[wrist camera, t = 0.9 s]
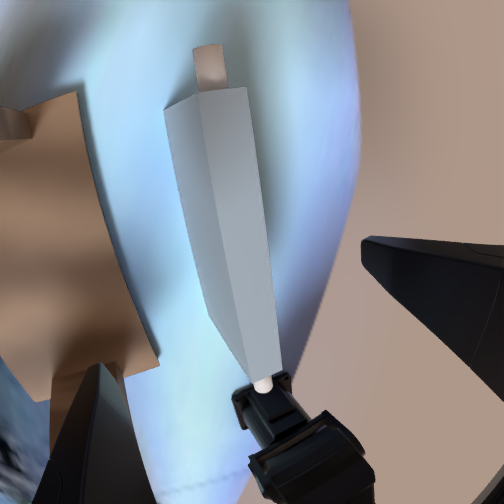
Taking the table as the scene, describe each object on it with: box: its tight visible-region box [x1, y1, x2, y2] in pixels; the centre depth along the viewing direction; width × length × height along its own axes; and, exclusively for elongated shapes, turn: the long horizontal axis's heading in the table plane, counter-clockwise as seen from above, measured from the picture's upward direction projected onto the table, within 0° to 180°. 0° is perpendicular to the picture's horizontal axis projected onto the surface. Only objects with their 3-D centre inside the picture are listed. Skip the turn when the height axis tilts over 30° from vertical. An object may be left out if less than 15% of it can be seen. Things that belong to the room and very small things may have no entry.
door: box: [163, 44, 282, 393], centre depth 17 cm, size 19×2×8 cm, turn 9°
